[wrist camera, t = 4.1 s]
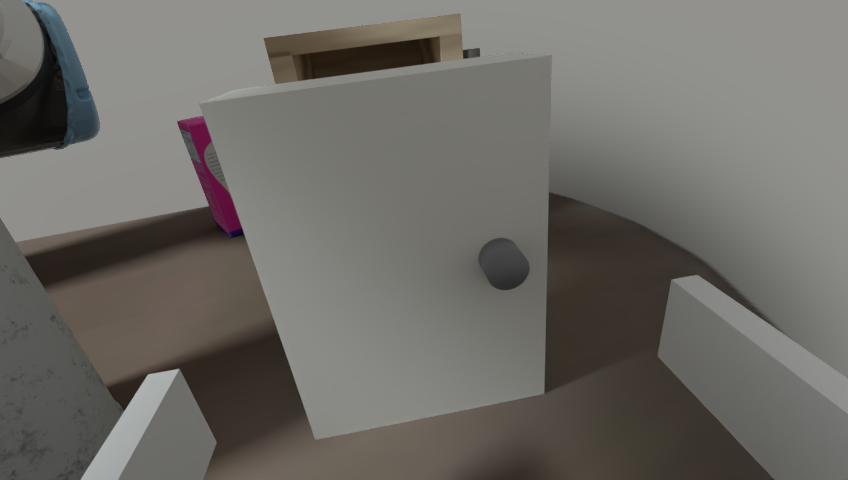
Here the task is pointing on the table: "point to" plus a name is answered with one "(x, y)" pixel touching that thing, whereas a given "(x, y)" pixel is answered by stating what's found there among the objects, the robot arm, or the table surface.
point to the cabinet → (366, 48)
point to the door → (398, 232)
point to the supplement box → (210, 174)
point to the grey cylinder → (44, 382)
